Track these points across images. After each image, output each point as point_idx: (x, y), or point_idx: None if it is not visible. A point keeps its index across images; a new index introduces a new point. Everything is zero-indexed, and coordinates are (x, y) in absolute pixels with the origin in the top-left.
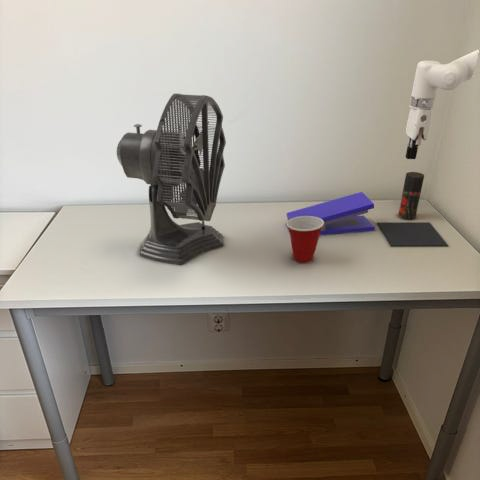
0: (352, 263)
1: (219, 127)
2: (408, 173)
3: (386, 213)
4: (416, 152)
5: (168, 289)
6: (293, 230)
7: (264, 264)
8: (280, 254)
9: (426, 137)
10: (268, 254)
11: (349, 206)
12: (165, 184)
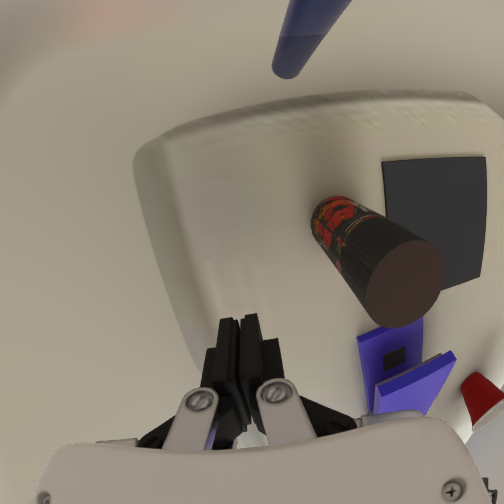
0: (497, 327)
1: None
2: (387, 318)
3: (316, 282)
4: (258, 345)
5: (468, 433)
6: (494, 415)
7: (464, 405)
8: (452, 403)
9: (461, 441)
10: (447, 411)
11: (428, 392)
12: None
